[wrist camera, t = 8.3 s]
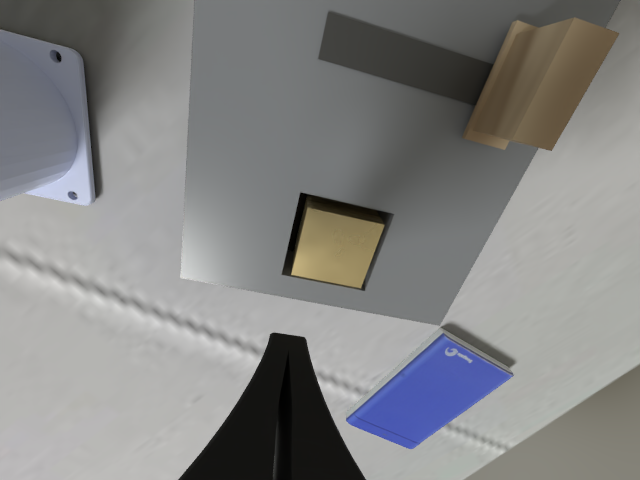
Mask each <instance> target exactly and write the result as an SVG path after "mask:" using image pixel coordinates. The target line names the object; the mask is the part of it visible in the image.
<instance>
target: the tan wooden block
mask: <svg viewBox="0 0 640 480" xmlns="http://www.w3.org/2000/svg"><path fill="white" fill-rule="evenodd" d="M618 35H619V33H617V32H614V31H612V30H609V29H606V28H603V27H600V26H598V25H595V24H592V23H589V22H586V21H584V20H581V19H578V18H575V17H574V18H571V19H567V20H564V21H560V22H557V23H554V24H550V25H547V26H543V27H540V28H538V27H535V26H532V25H530V24H527V23H524V22H521V21H518V20H517V21H514V22H512V24H511V27H510V29H509V31H508V33H507V36H506V38H505V40H504V43H503V45H502V47H501V49H500V52H499V54H498V56H497V58H496V61H495V63H494V65H493V68H492V70H491V72H490V74H489V77H488V79H487V81H486V84H485V86H484V88H483V90H482V93H481V95H480V97H479V99H478V102H477V104H476V106H475V109H474V111H473V113H472V115H471V118H470V120H469V122H468V125H467V127H466V129H465V131H464V134H463V136H462V138H464V139H467V140H471V141H475V142H478V143H482V144H485V145H489V146H493V147H496V148H500V149H503V150H505V149H506V147H507V145H508V143H509V141H513V142H517V143H521V144H525V145H530V146H534V147H538V148H542V149H546V150H551V151H552V149H553V147H554V146H555V144H556V142H557V140H558V139H559V137H560V135H561V134H562V132H563V130H564V128H565V127H566V125H567V123H568V121H569V120H570V118H571V116H572V114H573V113H574V111H575V109H576V108H577V106H578V104H579V102H580V101H581V99H582V97H583V95H584V94H585V92H586V90H587V89H588V87H589V85H590V83H591V82H592V80H593V78H594V76H595V75H596V73H597V71H598V69H599V68H600V66H601V64H602V63H603V61H604V59H605V57H606V56H607V54H608V52H609V50H610V49H611V47H612V45H613V43H614V42H615V40H616V38H617V37H618Z"/></svg>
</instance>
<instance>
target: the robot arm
mask: <svg viewBox="0 0 640 480" xmlns="http://www.w3.org/2000/svg"><path fill="white" fill-rule="evenodd" d="M57 52H59V53H60V55H61V57H62V60H61V62H59V61H58V60H57V57H56V53H57ZM73 192H75V193H76V194H77V196H78V198H77V197H75V196H74V195H73ZM22 193H26V194H31V195H36V196H40V197H45V198H50V199H55V200H60V201H65V202H69V203H74V204H79V205H86V206H87V205H90V204H92V203H93V202H94V201H95V187H94V176H93V165H92V153H91V142H90V131H89V119H88V108H87V97H86V85H85V74H84V63H83V59H82V57H81V56H80V54H79V53H78V52H77V51H76V50H74V49H72V48H68V47H64V46H61V45H57V44H53V43H50V42H46V41H42V40H38V39H35V38H31V37H27V36H24V35H20V34H16V33H12V32H9V31H5V30H1V29H0V201H2V200H5V199H8V198H11V197H14V196H17V195H19V194H22ZM274 455H275V457H274ZM273 471H274V473H273ZM179 480H366V479H365V477H364V476H363V474H362V472H361V471H360V469H359V467H358V466H357V464H356V462H355V461H354V459H353V457H352V456H351V454H350V452H349V450H348V448H347V446H346V445H345V443H344V441H343V439H342V437H341V435H340V433H339V431H338V429H337V427H336V425H335V423H334V421H333V418H332V416H331V414H330V412H329V409H328V407H327V405H326V402H325V400H324V397H323V395H322V392H321V389H320V387H319V384H318V381H317V378H316V375H315V372H314V369H313V366H312V362H311V359H310V355H309V351H308V347H307V341H306V339H305V338H304V337H300V336H293V335H287V334H280V333H272V334H270V338H269V342H268V345H267V348H266V350H265V353H264V355H263V357H262V359H261V362H260V363H259V365H258V367H257V369H256V371H255V373H254V375H253V377H252V379H251V381H250V382H249V384H248V386H247V387H246V389H245V391H244V392H243V394H242V396H241V397H240V399H239V401H238V402H237V404H236V405H235V407H234V408H233V410H232V411H231V413H230V414H229V416H228V417H227V419H226V420H225V421H224V423H223V424H222V426H221V427H220V428H219V430H218V431H217V432H216V434H215V435H214V436H213V438H212V439H211V440H210V442H209V443H208V444H207V446H206V447H205V448H204V450H203V451H202V452H201V453H200V455H199V456H198V457H197V458H196V459H195V461H194V462H193V463H192V464H191V465H190V466H189V468H188V469H187V470H186V471H185V472H184V474H183V475H182V476H181V477H180V478H179Z"/></svg>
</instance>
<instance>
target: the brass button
mask: <svg viewBox="0 0 640 480" xmlns="http://www.w3.org/2000/svg"><path fill="white" fill-rule="evenodd" d="M383 228H384V223H383V221H382V219H381V217H380V216H379V214H378V212H377V210H375V209H371V208H366V207H362V206H358V205H353V204H349V203H345V202H341V201H336V200H332V199H328V198H323V197H319V196H315V195H310V194H307V197H306V201H305V205H304V210H303V214H302V218H301V222H300V226H299V230H298V235H297V239H296V243H295V247H294V254H293V263H292V272H291V275H295V276H300V277H305V278H311V279H316V280H321V281H326V282H331V283H336V284H342V285H347V286H352V287H357V288H361V287H362V284H363V281H364V279H365V276H366V273H367V271H368V268H369V265H370V263H371V260H372V257H373V255H374V252H375V249H376V247H377V244H378V241H379V239H380V236H381V233H382V231H383Z"/></svg>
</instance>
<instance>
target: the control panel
mask: <svg viewBox="0 0 640 480" xmlns="http://www.w3.org/2000/svg"><path fill="white" fill-rule="evenodd" d="M620 1H621V0H194V20H193V39H192V59H191V79H190V99H189V119H188V139H187V159H186V179H185V199H184V219H183V239H182V259H181V278H183V279H188V280H194V281H199V282H204V283H210V284H215V285H221V286H226V287H232V288H237V289H243V290H248V291H254V292H259V293H264V294H270V295H275V296H281V297H286V298H292V299H297V300H303V301H308V302H313V303H319V304H324V305H330V306H335V307H341V308H346V309H352V310H357V311H363V312H368V313H373V314H379V315H384V316H390V317H395V318H401V319H406V320H412V321H417V322H423V323H428V324H433V325H439V326H440V324H441V322H442V321H443V319H444V317H445V315H446V313H447V312H448V310H449V308H450V306H451V304H452V303H453V301H454V299H455V297H456V295H457V294H458V292H459V290H460V288H461V286H462V285H463V283H464V281H465V279H466V277H467V276H468V274H469V272H470V270H471V268H472V267H473V265H474V263H475V261H476V260H477V258H478V256H479V254H480V252H481V251H482V249H483V247H484V245H485V243H486V242H487V240H488V238H489V236H490V234H491V233H492V231H493V229H494V227H495V225H496V224H497V222H498V220H499V218H500V216H501V215H502V213H503V211H504V209H505V207H506V206H507V204H508V202H509V200H510V198H511V197H512V195H513V193H514V191H515V189H516V188H517V186H518V184H519V182H520V180H521V179H522V177H523V175H524V173H525V171H526V170H527V168H528V166H529V164H530V162H531V161H532V159H533V157H534V155H535V153H536V152H537V150H538V147H534V146H530V145H525V144H521V143H517V142H513V141H509V143H508V145H507V147H506V149H505V150H503V149H500V148H496V147H493V146H489V145H485V144H482V143H478V142H475V141H471V140H467V139H464V138H462V136H463V134H464V131H465V129H466V127H467V125H468V122H469V120H470V118H471V115H472V113H473V111H474V109H475V106H476V104H477V102H478V99H479V97H480V95H481V93H482V90H483V88H484V86H485V84H486V81H487V79H488V77H489V74H490V72H491V70H492V68H493V65H494V63H495V61H496V58H497V56H498V54H499V52H500V49H501V47H502V45H503V43H504V40H505V38H506V36H507V33H508V31H509V29H510V27H511V24H512V22H514V21H517V20H518V21H521V22H524V23H527V24H530V25H532V26H535V27H538V28H540V27H543V26H547V25H550V24H554V23H557V22H560V21H564V20H567V19H571V18H574V17H575V18H578V19H581V20H584V21H586V22H589V23H592V24H595V25H598V26H600V27H603V28H606V26H607V24H608V22H609V20H610V19H611V17H612V15H613V13H614V11H615V10H616V8H617V6H618V4H619V2H620ZM300 192H302V193H306V194H310V195H315V196H319V197H323V198H328V199H332V200H336V201H341V202H345V203H349V204H353V205H358V206H362V207H366V208H371V209H375V210H377V212H378V214H379V216H380V217H381V219H382V221H383V223H384V228H383V231H382V233H381V236H380V239H379V241H378V244H377V247H376V249H375V252H374V255H373V257H372V260H371V263H370V265H369V268H368V271H367V273H366V276H365V279H364V281H363V284H362V287H361V288H357V287H352V286H347V285H342V284H336V283H331V282H326V281H321V280H316V279H311V278H305V277H300V276H295V275H291V272H292V263H293V254H294V251H289V250H287V248H288V244H289V239H290V235H291V231H292V226H293V222H294V217H295V213H296V209H297V204H298V200H299V195H300Z"/></svg>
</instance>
